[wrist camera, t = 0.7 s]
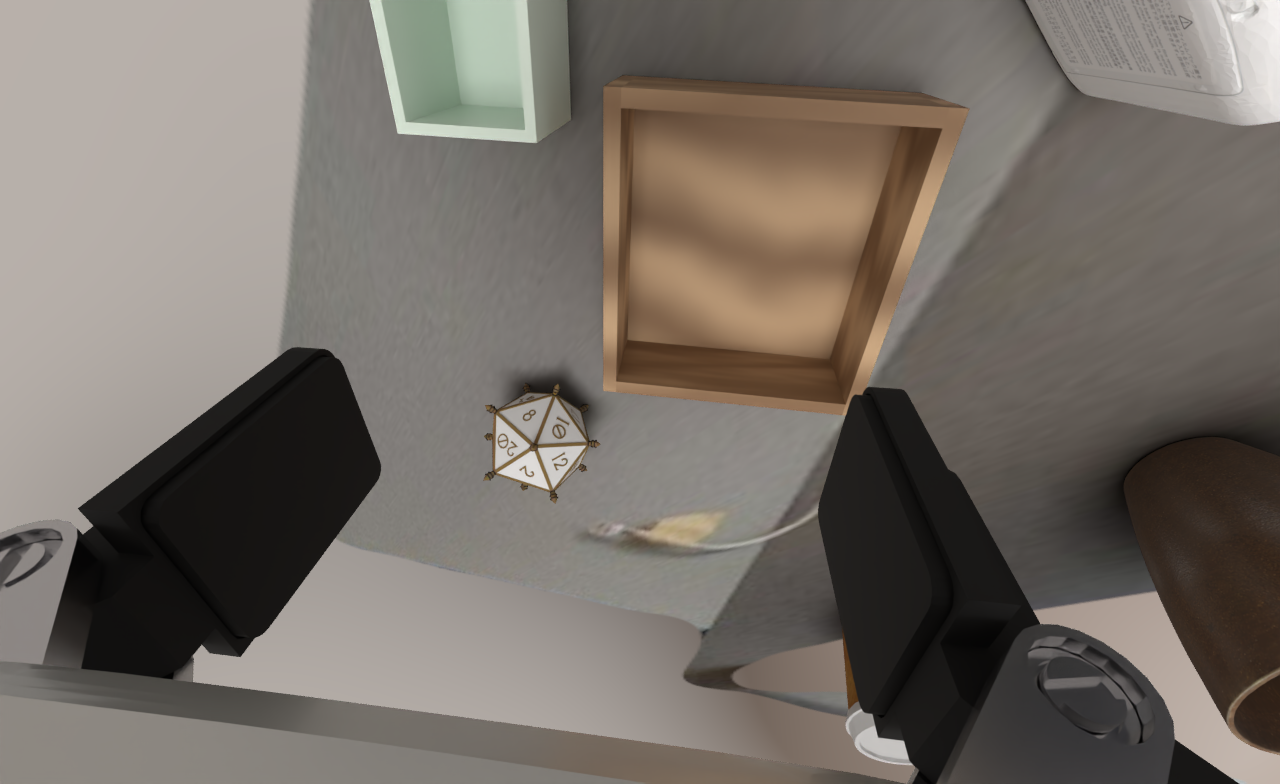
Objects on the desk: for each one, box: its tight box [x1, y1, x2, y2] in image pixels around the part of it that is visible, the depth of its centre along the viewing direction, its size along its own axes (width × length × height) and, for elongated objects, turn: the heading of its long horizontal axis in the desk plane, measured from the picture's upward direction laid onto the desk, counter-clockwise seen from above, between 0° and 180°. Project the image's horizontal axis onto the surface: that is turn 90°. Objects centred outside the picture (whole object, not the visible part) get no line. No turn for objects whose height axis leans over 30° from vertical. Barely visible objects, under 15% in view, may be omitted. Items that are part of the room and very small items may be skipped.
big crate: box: [603, 75, 969, 415], centre depth 29 cm, size 17×16×6 cm
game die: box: [483, 383, 600, 503], centre depth 38 cm, size 9×8×10 cm
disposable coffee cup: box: [842, 629, 913, 765], centre depth 47 cm, size 10×10×12 cm
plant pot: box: [1124, 437, 1280, 755], centre depth 32 cm, size 15×15×16 cm
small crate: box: [369, 0, 571, 143], centre depth 23 cm, size 10×7×7 cm, turn 178°
